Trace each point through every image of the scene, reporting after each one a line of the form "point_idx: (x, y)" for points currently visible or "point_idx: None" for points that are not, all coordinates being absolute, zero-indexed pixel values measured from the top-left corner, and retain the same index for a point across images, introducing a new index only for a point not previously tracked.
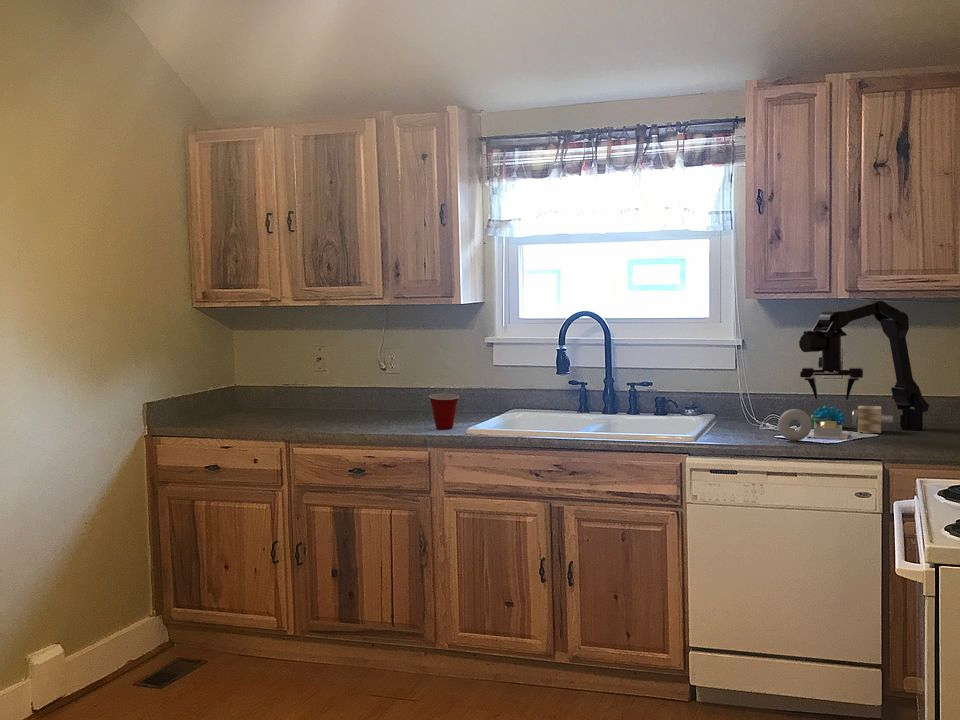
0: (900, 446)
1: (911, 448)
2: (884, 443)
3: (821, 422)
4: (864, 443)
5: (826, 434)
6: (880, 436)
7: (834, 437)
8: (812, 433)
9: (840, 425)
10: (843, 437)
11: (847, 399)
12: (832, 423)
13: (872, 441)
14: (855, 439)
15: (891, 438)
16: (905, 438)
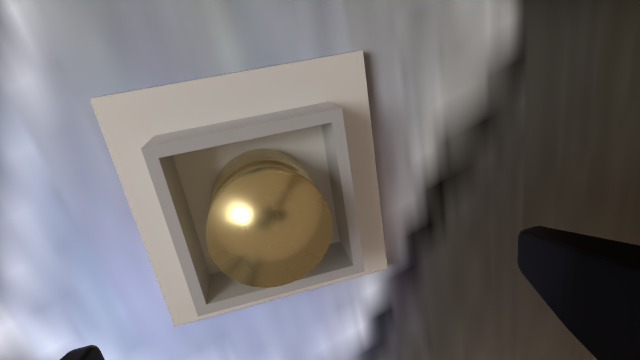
0: None
1: None
2: None
3: (231, 276)
4: (465, 326)
5: None
6: (530, 60)
7: (324, 283)
8: (159, 207)
9: (333, 120)
10: (369, 272)
11: (534, 269)
12: (312, 265)
13: (494, 256)
14: (418, 234)
15: (576, 115)
16: (636, 83)
